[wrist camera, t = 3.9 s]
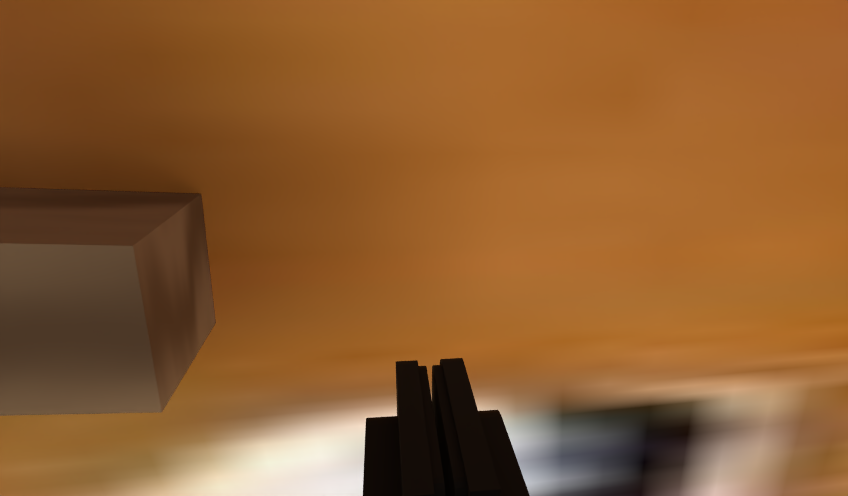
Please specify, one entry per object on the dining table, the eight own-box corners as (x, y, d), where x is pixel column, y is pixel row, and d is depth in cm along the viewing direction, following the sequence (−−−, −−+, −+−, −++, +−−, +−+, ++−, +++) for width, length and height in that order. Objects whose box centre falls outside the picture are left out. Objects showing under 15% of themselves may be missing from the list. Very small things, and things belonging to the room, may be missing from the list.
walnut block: (-43, 185, 18) (-226, 239, 13) (202, 192, 19) (132, 245, 14) (-1, 320, 20) (-142, 418, 15) (216, 321, 21) (162, 412, 16)
